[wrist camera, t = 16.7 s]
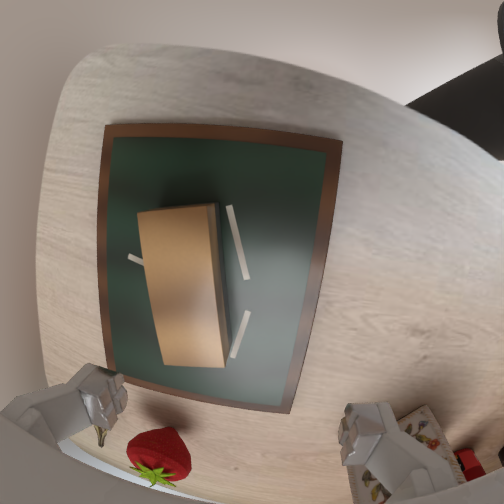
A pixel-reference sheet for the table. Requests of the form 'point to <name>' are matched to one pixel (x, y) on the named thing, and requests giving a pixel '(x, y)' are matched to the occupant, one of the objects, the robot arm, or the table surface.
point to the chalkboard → (234, 251)
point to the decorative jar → (423, 430)
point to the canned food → (469, 464)
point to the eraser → (187, 283)
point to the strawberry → (160, 456)
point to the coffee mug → (501, 456)
